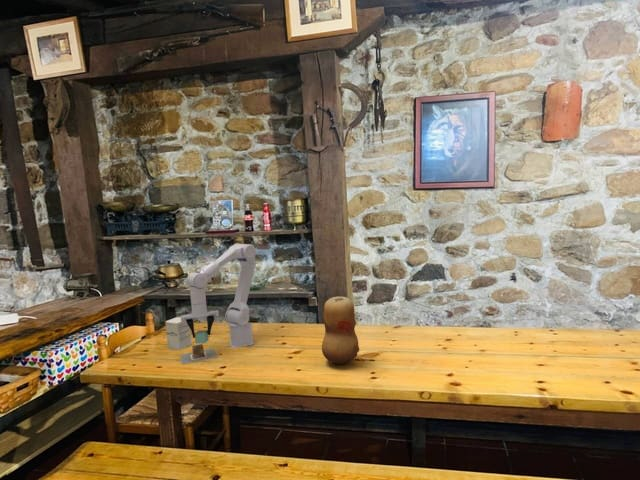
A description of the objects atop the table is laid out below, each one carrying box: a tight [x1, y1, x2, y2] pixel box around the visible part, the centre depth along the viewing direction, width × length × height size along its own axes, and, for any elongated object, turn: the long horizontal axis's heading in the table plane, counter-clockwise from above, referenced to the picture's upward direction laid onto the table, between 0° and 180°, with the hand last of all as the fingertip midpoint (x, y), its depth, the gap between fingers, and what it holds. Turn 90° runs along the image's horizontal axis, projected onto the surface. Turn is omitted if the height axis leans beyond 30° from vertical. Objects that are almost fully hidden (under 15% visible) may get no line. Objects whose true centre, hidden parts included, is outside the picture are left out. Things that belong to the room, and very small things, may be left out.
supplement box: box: [165, 316, 193, 351], centre depth 183 cm, size 7×7×13 cm
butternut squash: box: [321, 296, 360, 365], centre depth 157 cm, size 14×13×25 cm
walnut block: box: [191, 343, 205, 359], centre depth 171 cm, size 4×4×4 cm
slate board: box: [179, 348, 219, 365], centre depth 172 cm, size 14×11×1 cm
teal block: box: [194, 329, 210, 345], centre depth 169 cm, size 4×4×4 cm
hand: (201, 335), depth 169 cm, fingers closed on teal block, 5 cm apart
